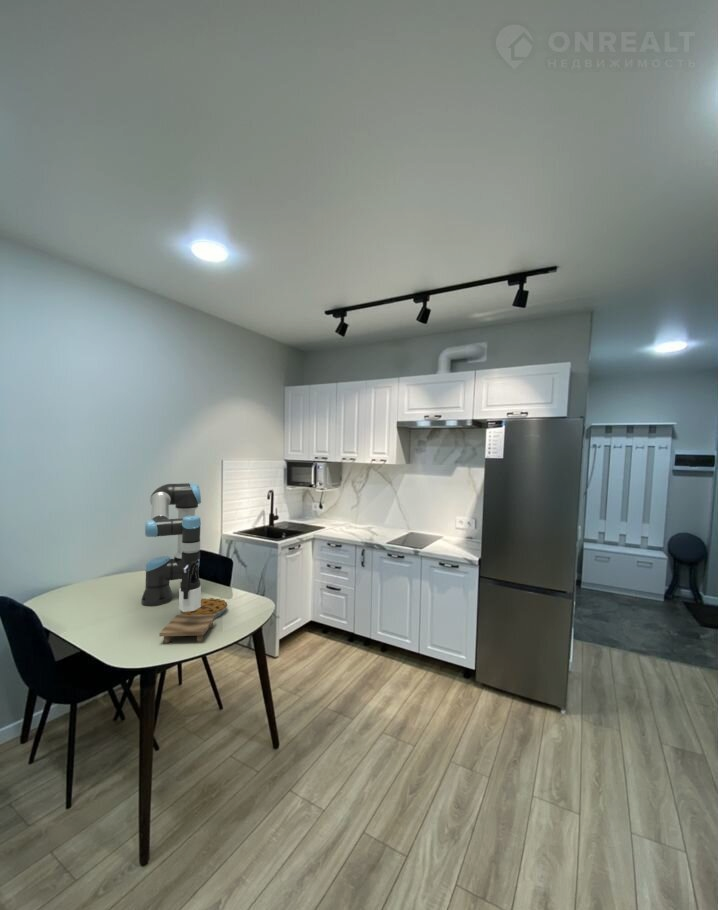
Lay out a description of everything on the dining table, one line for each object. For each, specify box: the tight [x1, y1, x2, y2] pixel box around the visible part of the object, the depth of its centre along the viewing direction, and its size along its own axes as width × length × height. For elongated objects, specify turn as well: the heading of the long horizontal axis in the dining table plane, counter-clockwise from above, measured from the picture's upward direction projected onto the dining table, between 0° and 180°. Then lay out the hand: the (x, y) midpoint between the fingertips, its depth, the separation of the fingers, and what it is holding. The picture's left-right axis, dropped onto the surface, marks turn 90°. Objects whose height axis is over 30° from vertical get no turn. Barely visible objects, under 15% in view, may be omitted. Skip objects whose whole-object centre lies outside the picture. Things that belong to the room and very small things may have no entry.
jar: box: [178, 578, 202, 612], centre depth 165 cm, size 9×8×12 cm
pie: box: [179, 597, 228, 619], centre depth 187 cm, size 22×22×5 cm
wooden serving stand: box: [158, 614, 216, 644], centre depth 165 cm, size 18×18×5 cm
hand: (190, 602), depth 165 cm, fingers closed on jar, 8 cm apart
